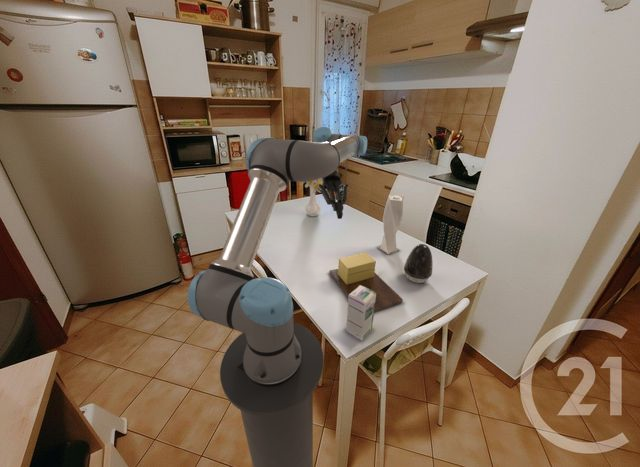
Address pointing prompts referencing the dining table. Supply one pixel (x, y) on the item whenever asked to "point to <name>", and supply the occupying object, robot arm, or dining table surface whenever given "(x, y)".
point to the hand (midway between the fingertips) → (340, 216)
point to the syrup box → (360, 312)
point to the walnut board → (375, 284)
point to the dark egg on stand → (419, 264)
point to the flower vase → (313, 197)
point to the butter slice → (356, 263)
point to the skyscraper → (391, 223)
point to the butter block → (355, 275)
